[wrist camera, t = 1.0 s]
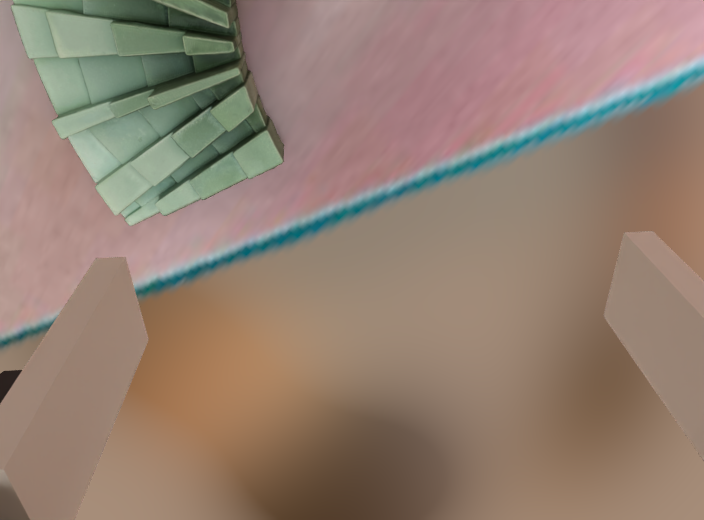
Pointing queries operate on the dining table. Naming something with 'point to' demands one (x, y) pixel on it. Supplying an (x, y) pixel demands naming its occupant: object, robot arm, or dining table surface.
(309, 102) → the dining table surface
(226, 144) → the green curved brick section
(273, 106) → the dining table surface
